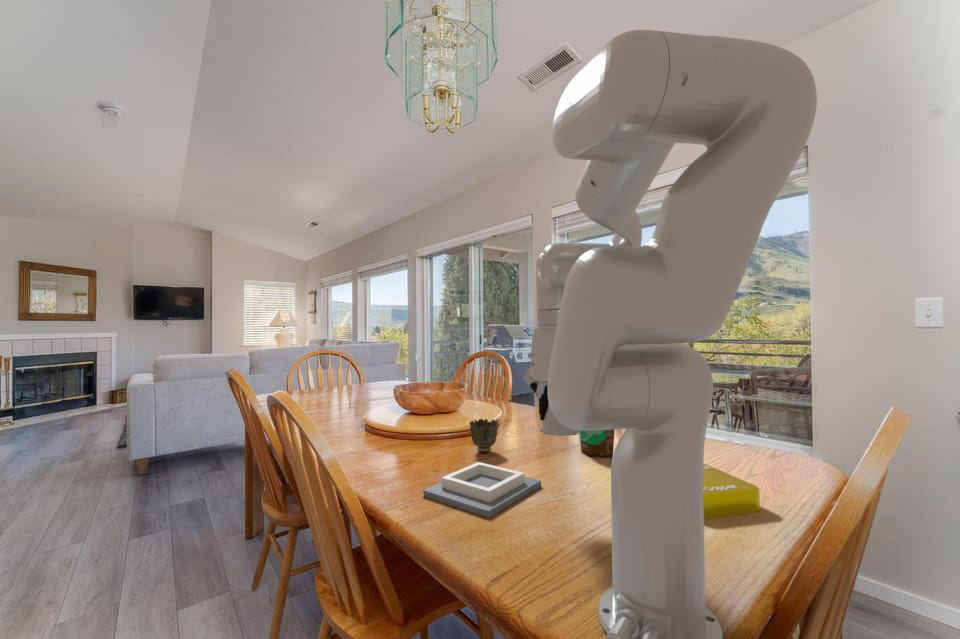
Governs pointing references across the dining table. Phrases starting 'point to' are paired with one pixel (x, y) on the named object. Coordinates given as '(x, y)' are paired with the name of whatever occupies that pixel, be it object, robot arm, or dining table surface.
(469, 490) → the collar board
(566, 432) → the flask
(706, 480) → the element tile
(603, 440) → the food container
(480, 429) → the cup
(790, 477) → the dining table surface
